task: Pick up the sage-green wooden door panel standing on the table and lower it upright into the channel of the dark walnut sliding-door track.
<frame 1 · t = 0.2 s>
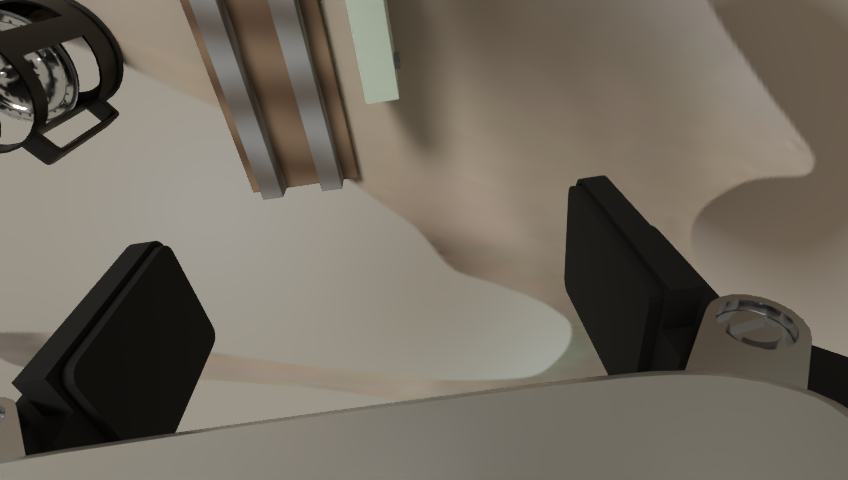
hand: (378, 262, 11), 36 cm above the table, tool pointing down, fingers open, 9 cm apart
door track: (278, 85, 43), on the table
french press: (72, 56, 41), on the table
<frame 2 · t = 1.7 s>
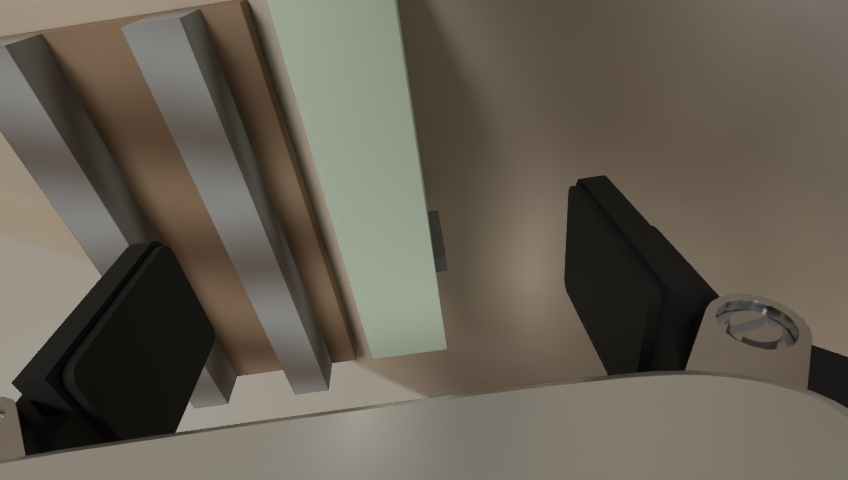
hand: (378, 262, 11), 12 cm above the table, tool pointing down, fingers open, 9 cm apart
door panel: (380, 84, 20), on the table
door track: (209, 231, 24), on the table
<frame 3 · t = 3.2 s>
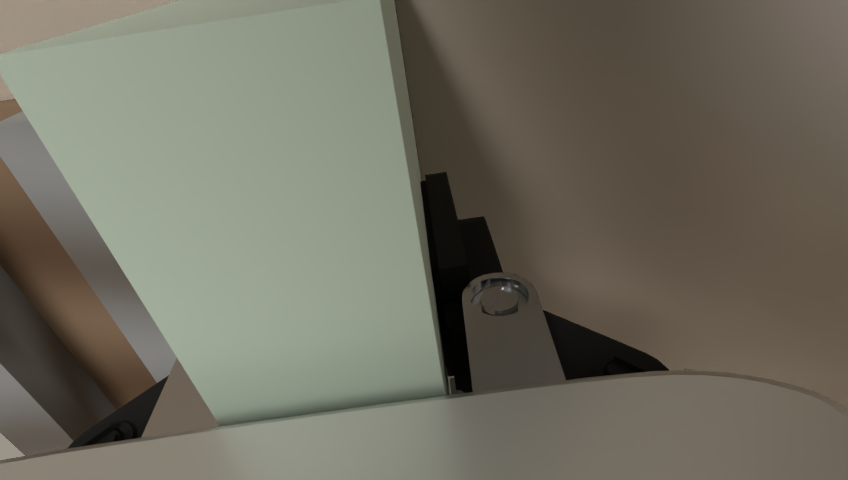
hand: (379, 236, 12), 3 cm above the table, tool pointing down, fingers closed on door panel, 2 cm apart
door panel: (381, 180, 15), on the table, touching gripper
door track: (157, 354, 18), on the table
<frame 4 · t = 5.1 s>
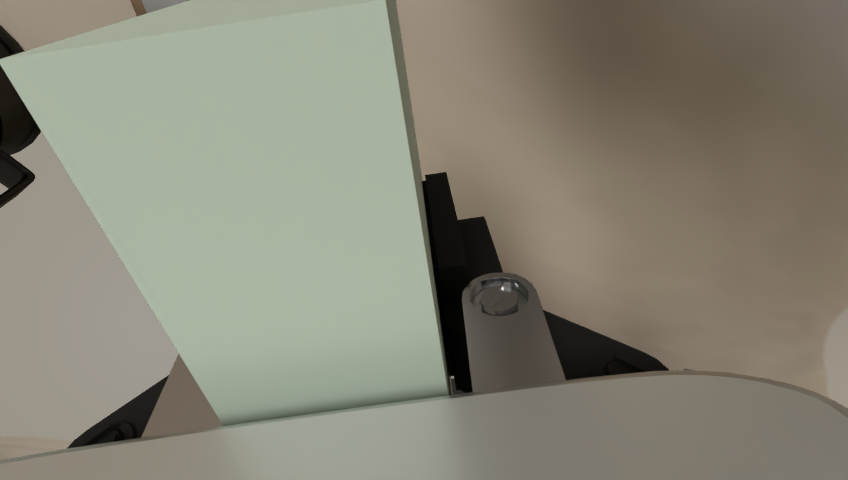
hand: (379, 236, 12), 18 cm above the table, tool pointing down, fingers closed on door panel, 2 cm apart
door panel: (382, 181, 15), point 14 cm above the table, touching gripper
door track: (287, 134, 28), on the table
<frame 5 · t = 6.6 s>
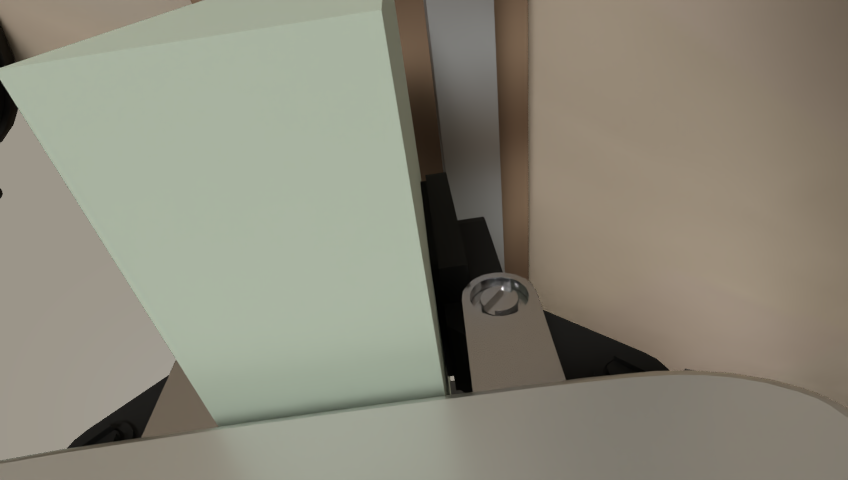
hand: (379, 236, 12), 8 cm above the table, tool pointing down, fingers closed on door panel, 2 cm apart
door panel: (381, 183, 15), point 5 cm above the table, touching gripper
door track: (385, 116, 18), on the table
when the fingers open (5 cm above the table, at t = 7.4 s): door panel stays where it is, resting on door track.
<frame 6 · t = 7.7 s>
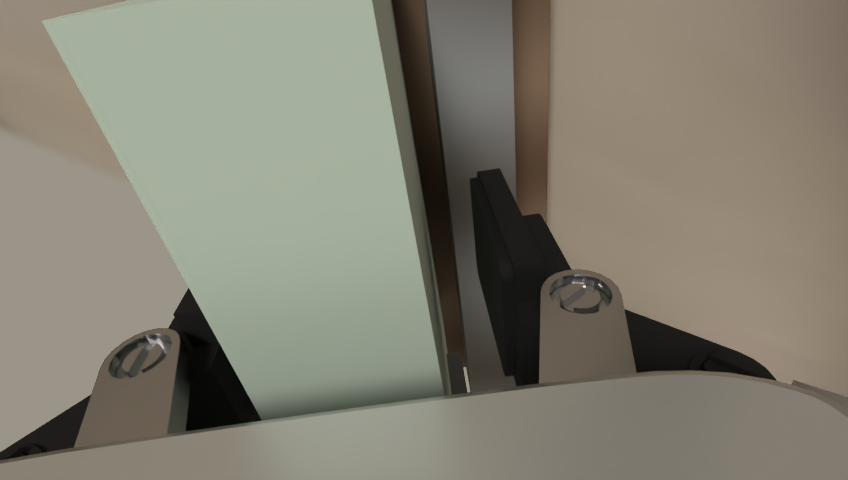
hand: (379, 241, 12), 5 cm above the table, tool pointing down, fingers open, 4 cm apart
door panel: (380, 167, 15), point 1 cm above the table, touching door track
door track: (382, 159, 16), on the table
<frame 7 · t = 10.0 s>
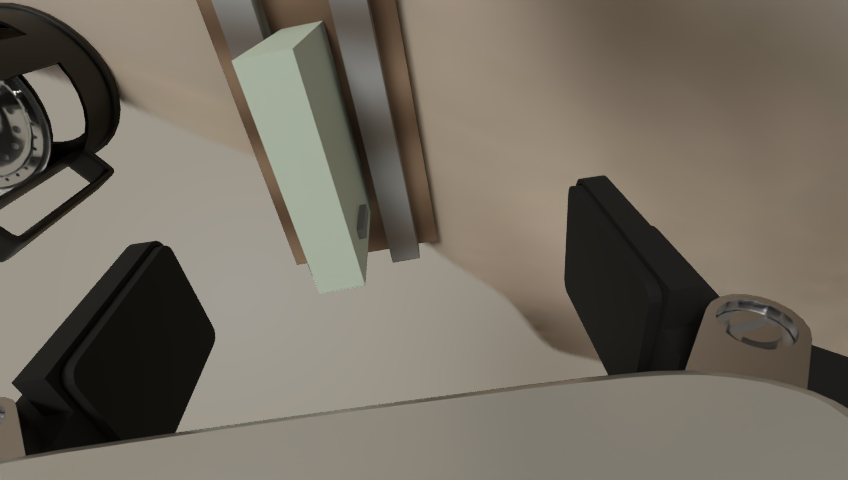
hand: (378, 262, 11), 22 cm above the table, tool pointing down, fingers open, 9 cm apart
door panel: (331, 124, 30), point 1 cm above the table, touching door track
door track: (333, 121, 31), on the table
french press: (49, 92, 29), on the table
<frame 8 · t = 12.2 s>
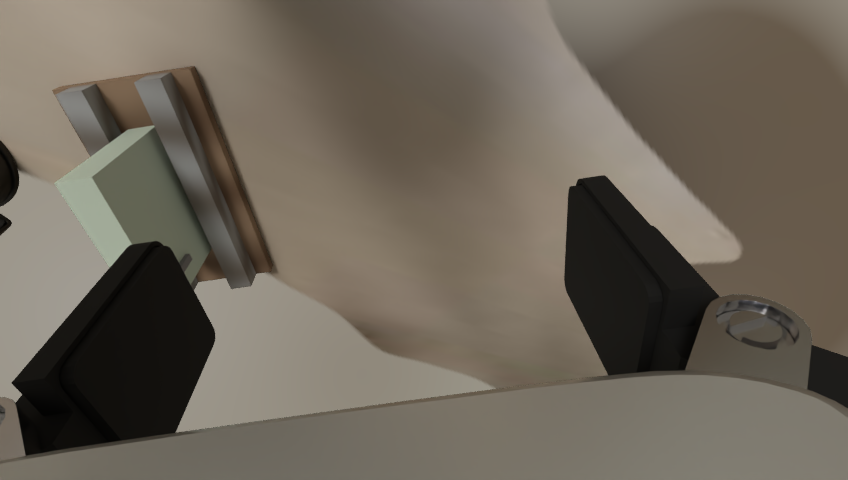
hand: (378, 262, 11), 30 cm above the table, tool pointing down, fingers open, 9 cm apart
door panel: (174, 191, 41), point 1 cm above the table, touching door track
door track: (179, 187, 42), on the table
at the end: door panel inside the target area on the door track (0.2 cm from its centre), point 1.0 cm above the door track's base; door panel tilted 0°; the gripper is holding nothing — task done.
